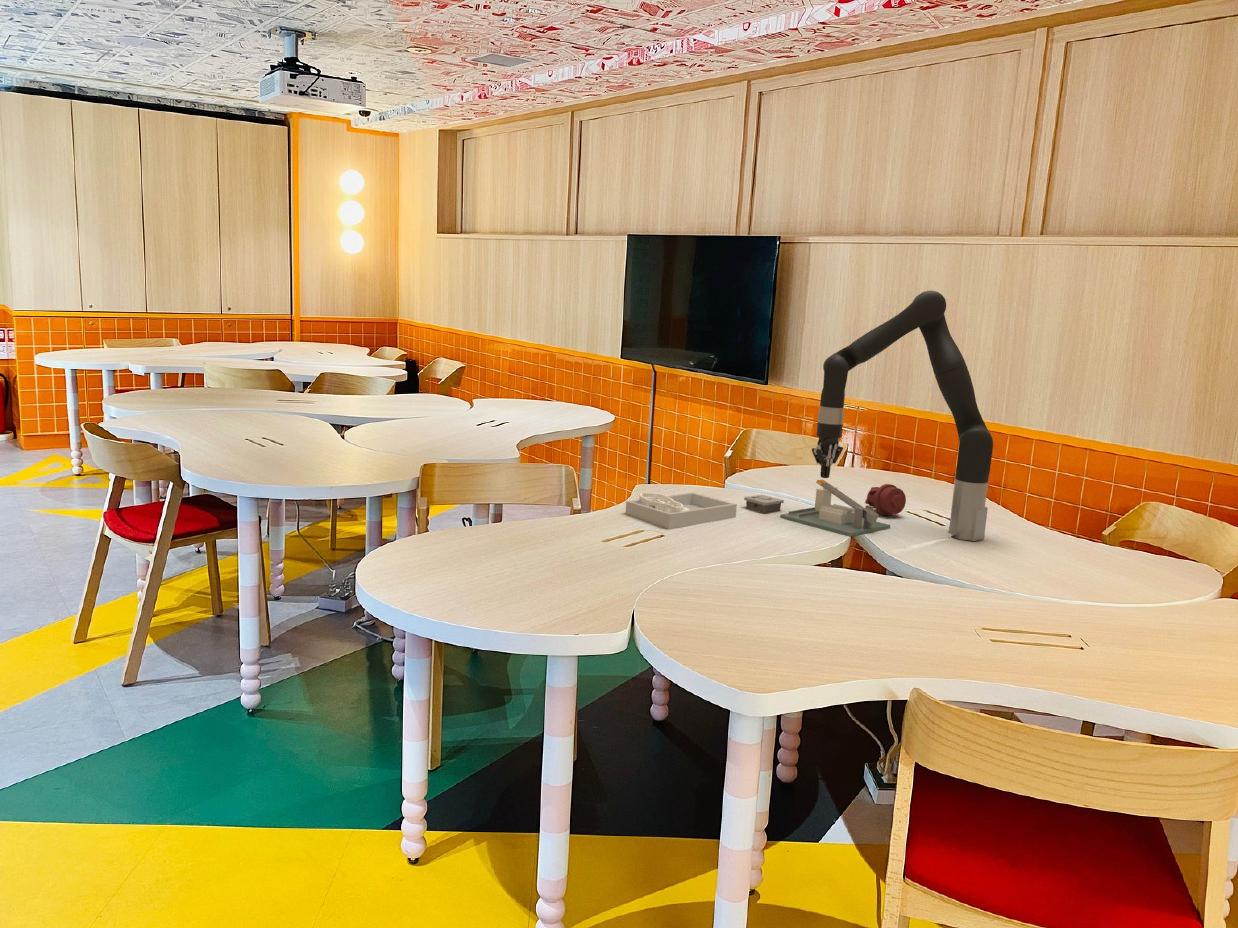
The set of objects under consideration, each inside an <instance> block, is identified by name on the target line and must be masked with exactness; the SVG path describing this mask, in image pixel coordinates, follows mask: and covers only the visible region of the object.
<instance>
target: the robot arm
mask: <svg viewBox="0 0 1238 928" xmlns="http://www.w3.org/2000/svg"><path fill="white" fill-rule="evenodd" d="M946 310H947V299H946V298H945V296H944V295H943V294H941V293H940V292H939V291H937V290H926V291H925V290H924V291H922V292H921V293H918V294H917V295H916V296H915V298H914V299H913V300H912V302H911V303H910V304H909V305H908V306H907V307H905V308H904V309H903V310H902V311H900V312H899V313H898V314H896V315H895V316H893V317H892V318H890V319H889V320H887V321H885V322H884V323H882V324H879V325H878V326H877V327H875V328H873V329H870V330H869V331H867V332H865V334H864V335H862V336H860V337H858V338H857V339H855V340H854V341H853V342H851V343H850V344H849V345H847V346H846V347H844V348H841V349H840V350H838V351H836V352H834V353H833V354H831V355H830V356H828V357H827V358H826V359H825V360H824V362H823V367H822V369H823V384H822V385H823V386H822V387H823V388H822V390H821V393H820V402H819V403H820V404H819V409H818V414H817V424H816V433H815V434H816V436H817V437H818V440H817V446H816V447H812V448H811V452H812V455H813V457H814V460H815V462H816V464H818V465H820V473H819V474H820V478H822V479H829V478H830V475H831V467H832V466H833V464H836V463H837V461H838V459H839V457H840V456H841V454H842V452H843V451H844V447H842V446H840V444H839V443H840V441H839V439H841V438H842V435H843V426H844V414H845V413H844V410H845V409H844V406H845V395H846V394H845V393H846V387H847V386H846V385H847V380H848V377H849V376H848V375H849V372H850V371H851V370H852V369H854V368H855V367H857V366H858V365H860V364H864V363H866V362H868V361H870V360H871V359H872V358H874V357H875V356H877V355H879V354H880V353H881V352H883V351H885V350H886V349H887V348H889V347H890V346H891V345H893V344H894V343H895V342H897V341H898V340H900V339H901V338H902V337H904V336H906V335H907V334H909V333H911V332H912V331H915V330H917V329H918V328H919V330H920V332H921V335H922V337H923V339H924V342H925V345H926V349H927V353H928V356H929V361H930V364H931V367H932V372H933V373H934V377H935V380H936V382H937V385H938V387H939V391H940V392H941V395H942V397H943V399H944V401H945V403H946V405H947V407H948V408H949V410H950V412H951V415H952V417H953V420H954V423H955V428H956V432H957V436H958V443H959V444H958V452H957V462H956V467H955V474H954V475H955V477H954V482H953V483H954V486H953V493H952V499H951V500H952V502H951V511H950V519H949V527H948V533H949V534H951V535H950V537H952V538H954V539H959V540H966V541H972V542H975V541H980V540H984V539H985V533H986V525H987V518H988V507H986V501H987V493H988V486H989V485H988V484H989V479H990V473H991V465H992V459H993V458H992V457H993V451H994V450H993V449H994V440H993V436H992V434H991V432H990V430H989V429H988V427H987V425H986V422H985V421H984V420H983V416H982V415H981V413H980V410H979V407H978V403H977V399H976V393H975V390H974V385H973V381H972V378H971V373H970V371H969V369H968V366H967V363H966V360H965V358H964V356H963V354H962V352H961V351H960V349H959V347H958V345H957V344H956V342H955V340H954V338H953V337H952V335H951V332H950V329H949V326H948V324H947V323H948V322H947V320H946V315H945V312H946Z"/></svg>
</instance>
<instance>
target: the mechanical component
mask: <svg viewBox="0 0 1238 928" xmlns="http://www.w3.org/2000/svg"><path fill="white" fill-rule="evenodd" d="M906 499H907V496H906V494H905V492H904V491H903V490H902V489H901V488H899V487H897V486H896V485H894V484H890V483H884V484H882V485H880V486H871V488H870V490H869V491H868V493H867V496H866V499H865V500H864V503H865V504H866V505H869V506H873V507H874V508H873V509H875V510H876V511H877V512H878V513H879V515H882V516H892V515H898V514H899V513H901V512H903V510H904V508H905V507H906V503H907V500H906Z"/></svg>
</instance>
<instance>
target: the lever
mask: <svg viewBox="0 0 1238 928" xmlns="http://www.w3.org/2000/svg"><path fill="white" fill-rule="evenodd" d="M815 483H816V484H817V485H819V486H820V487H821V488H825V489H826V490H827V491H829V492H830V493H832V496H835V497H836V498H838V499H839V500H840V501H842V502H843V503H845V504H847V505H848V507H850V508H853V509H855V507H859V508H863V517H862V518H864V519H865V520H866V521H868V522H869V523H872V522H877V521H878V518H879V516H880V514H878V513H877V512H876V511H874V509H873V510H871V509H870V508H865V507H864V506H862V505H861V504H860V503H858V502H857V501H855V500H854V499H852V498H850V497H849V496H848V495H846V494H845V493H844V492H842V491H840V490H839V489H838V488H837V489H836V488H835V487H836V486H834V485H832V484H830V483H829V482H828V481H826V480H824V479H817V480H816V482H815ZM833 486H834V487H833Z"/></svg>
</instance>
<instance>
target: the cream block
mask: <svg viewBox="0 0 1238 928" xmlns="http://www.w3.org/2000/svg"><path fill="white" fill-rule="evenodd" d="M832 486H833V487H835V488H836V489H838V487H837V486H834V485H832ZM815 492H816V493H815V504H814V507H815V511H819V510H820V509H821V506H825V505H828V506H829V505H832V504H831V503H832V496H833V494H832V493H830V492H829V491H827V490H826V489H825V488H823V487H818V488H816V490H815Z"/></svg>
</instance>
